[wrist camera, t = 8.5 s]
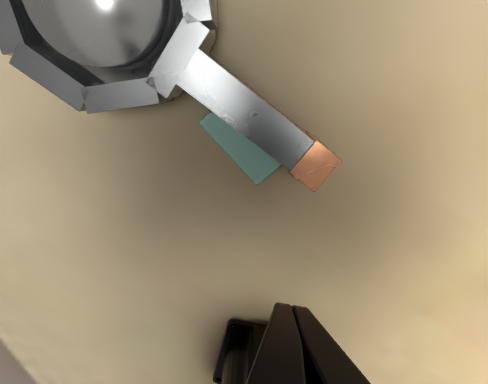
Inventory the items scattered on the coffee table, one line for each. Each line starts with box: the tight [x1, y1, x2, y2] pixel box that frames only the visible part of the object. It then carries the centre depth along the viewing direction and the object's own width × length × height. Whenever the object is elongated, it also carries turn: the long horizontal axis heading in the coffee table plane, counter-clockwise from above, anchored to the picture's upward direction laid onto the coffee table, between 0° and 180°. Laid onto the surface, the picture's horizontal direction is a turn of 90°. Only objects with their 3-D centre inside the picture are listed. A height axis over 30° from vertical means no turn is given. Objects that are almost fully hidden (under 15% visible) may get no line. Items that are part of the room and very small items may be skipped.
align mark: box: [199, 111, 282, 185], centre depth 18 cm, size 5×2×1 cm, turn 42°
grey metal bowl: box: [22, 0, 217, 107], centre depth 14 cm, size 10×10×4 cm
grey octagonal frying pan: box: [0, 0, 341, 192], centre depth 14 cm, size 18×10×3 cm, turn 53°
